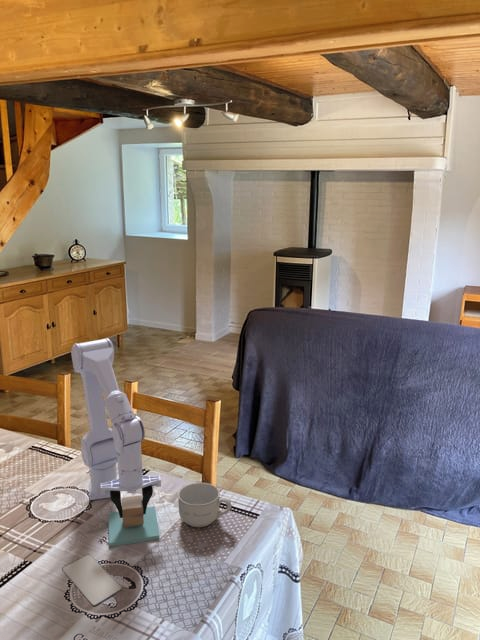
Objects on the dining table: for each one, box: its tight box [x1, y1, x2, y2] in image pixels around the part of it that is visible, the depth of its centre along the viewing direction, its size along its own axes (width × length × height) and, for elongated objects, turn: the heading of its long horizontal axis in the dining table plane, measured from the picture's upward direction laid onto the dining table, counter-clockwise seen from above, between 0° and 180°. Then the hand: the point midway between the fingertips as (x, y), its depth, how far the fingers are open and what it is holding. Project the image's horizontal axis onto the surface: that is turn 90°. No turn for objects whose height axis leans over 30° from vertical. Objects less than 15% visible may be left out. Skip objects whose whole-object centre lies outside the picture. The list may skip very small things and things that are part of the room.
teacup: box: [177, 482, 232, 528], centre depth 131 cm, size 14×11×8 cm
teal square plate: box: [108, 505, 161, 548], centre depth 130 cm, size 12×12×1 cm
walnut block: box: [121, 495, 144, 527], centre depth 128 cm, size 5×5×5 cm
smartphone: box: [61, 553, 123, 607], centre depth 113 cm, size 7×1×15 cm
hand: (132, 513), depth 129 cm, fingers closed on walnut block, 5 cm apart
